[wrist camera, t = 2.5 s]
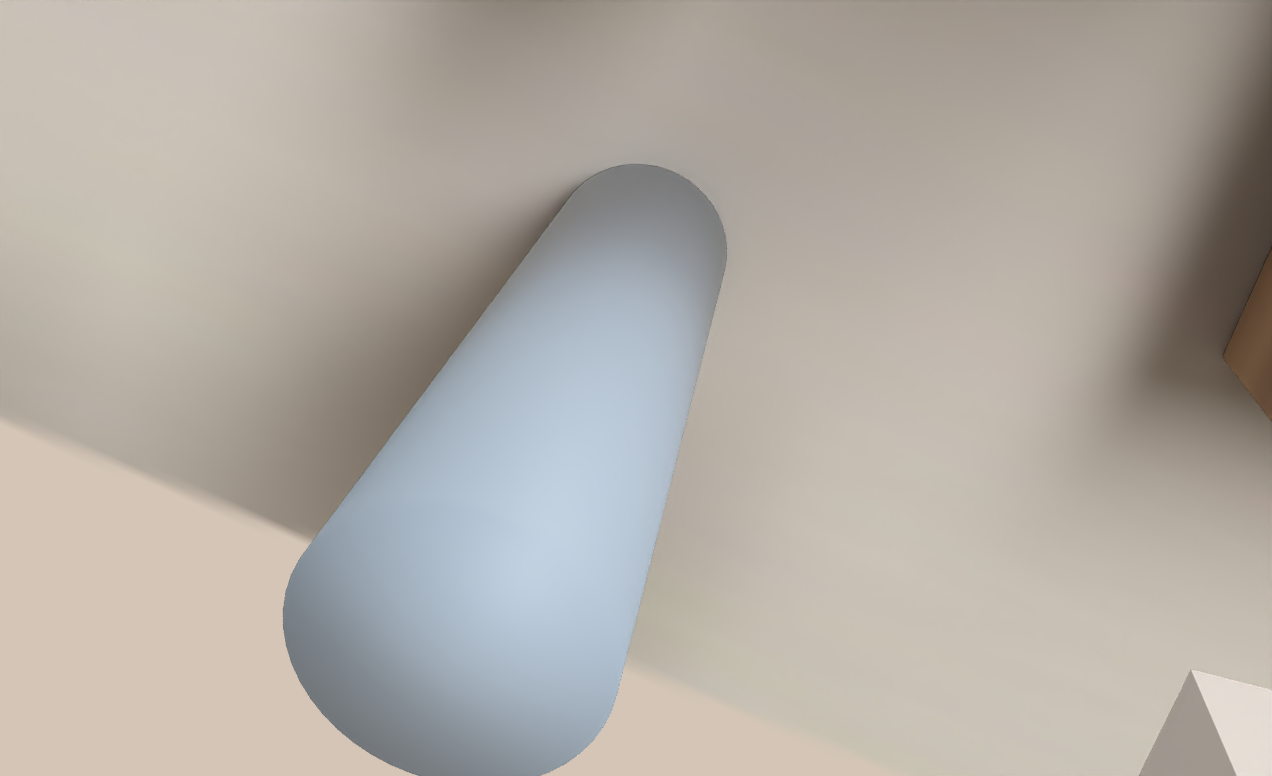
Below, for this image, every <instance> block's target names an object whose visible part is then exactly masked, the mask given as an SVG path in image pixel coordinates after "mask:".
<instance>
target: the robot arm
mask: <svg viewBox="0 0 1272 776" xmlns="http://www.w3.org/2000/svg"><path fill="white" fill-rule="evenodd" d="M1139 776H1272V690H1271V689H1267V688H1263V687H1259V686H1255V685H1251V684H1247V683H1243V682H1239V681H1235V680H1231V679H1227V678H1223V677H1219V676H1215V675H1211V674H1207V673H1203V672H1199V671H1195V670H1190V672H1189V674H1188V676H1187V679H1186V681H1185V683H1184V685H1183V687H1182V689H1181V691H1180V693H1179V695H1178V697H1177V699H1176V701H1175V703H1174V705H1173V707H1172V709H1171V711H1170V713H1169V715H1168V717H1167V719H1166V721H1165V723H1164V725H1163V727H1162V729H1161V731H1160V733H1159V736H1158V738H1157V740H1156V742H1155V744H1154V746H1153V748H1152V750H1151V752H1150V754H1149V756H1148V758H1147V760H1146V762H1145V764H1144V766H1143V768H1142V770H1141V772H1140V774H1139Z"/></svg>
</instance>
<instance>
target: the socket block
mask: <svg viewBox="0 0 1272 776" xmlns="http://www.w3.org/2000/svg"><path fill="white" fill-rule="evenodd" d="M1223 358H1224V360H1225V361H1226V362H1227V364H1228V365H1229V366H1230V368H1231V369H1232V370H1233V371H1234V373H1235V374H1236V375H1237V377H1238V378H1239V379H1240V381H1241V382H1242V383H1243V385H1244V386H1245V387H1246V389H1247V390H1248V391H1249V392H1250V394H1251V395H1252V396H1253V398H1254V399H1255V400H1256V402H1257V403H1258V404H1259V406H1260V407H1261V408H1262V410H1263V411H1264V412H1265V413H1266V415H1267V416H1268V417H1269V419H1270V420H1271V421H1272V248H1271V250H1270V252H1269V255H1268V257H1267V259H1266V261H1265V264H1264V266H1263V268H1262V270H1261V272H1260V275H1259V277H1258V279H1257V281H1256V284H1255V286H1254V288H1253V290H1252V293H1251V295H1250V297H1249V299H1248V301H1247V304H1246V306H1245V308H1244V310H1243V313H1242V315H1241V317H1240V319H1239V321H1238V324H1237V326H1236V328H1235V330H1234V333H1233V335H1232V337H1231V339H1230V342H1229V344H1228V346H1227V348H1226V350H1225V353H1224V355H1223Z"/></svg>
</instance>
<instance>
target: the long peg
mask: <svg viewBox="0 0 1272 776" xmlns="http://www.w3.org/2000/svg"><path fill="white" fill-rule="evenodd" d="M726 260H727V245H726V237H725V233H724V229H723V225H722V223H721V220H720V218H719V215H718V214H717V212H716V210H715V208H714V206H713V205H712V204H711V202H710V201H709V200H708V198H707V197H706V196H705V195H704V194H703V193H702V192H701V191H700V190H699V188H697V187H696V186H695V185H694V184H692V183H691V182H690V181H689V180H687V179H685V178H684V177H682V176H680V175H679V174H676V173H674V172H672V171H670V170H667V169H664V168H660V167H657V166H651V165H645V164H630V165H621V166H617V167H613V168H610V169H607V170H604V171H602V172H600V173H598V174H596V175H594V176H592V177H591V178H589V179H588V180H587V181H585V182H584V183H583V184H581V185H580V186H579V187H578V188H577V189H576V190H575V191H574V192H573V194H572V195H571V196H570V198H569V199H568V200H567V202H566V203H565V204H564V206H563V207H562V208H561V210H560V211H559V212H558V214H557V215H556V216H555V218H554V219H553V220H552V222H551V223H550V224H549V226H548V227H547V228H546V230H545V231H544V232H543V234H542V235H541V236H540V238H539V239H538V240H537V242H536V243H535V244H534V246H533V247H532V248H531V250H530V251H529V252H528V254H527V255H526V256H525V258H524V259H523V260H522V262H521V263H520V264H519V266H518V267H517V268H516V270H515V271H514V272H513V274H512V275H511V276H510V278H509V279H508V280H507V282H506V283H505V285H504V286H503V287H502V289H501V290H500V291H499V293H498V294H497V295H496V297H495V298H494V299H493V301H492V302H491V303H490V305H489V306H488V307H487V309H486V310H485V311H484V313H483V314H482V315H481V317H480V318H479V319H478V321H477V322H476V323H475V325H474V326H473V327H472V329H471V330H470V331H469V333H468V334H467V335H466V337H465V338H464V339H463V341H462V342H461V343H460V345H459V346H458V347H457V349H456V350H455V351H454V353H453V354H452V355H451V357H450V358H449V359H448V361H447V362H446V363H445V365H444V366H443V367H442V369H441V370H440V371H439V373H438V374H437V375H436V377H435V378H434V379H433V381H432V382H431V383H430V385H429V386H428V387H427V389H426V390H425V392H424V393H423V394H422V396H421V397H420V398H419V400H418V401H417V402H416V404H415V405H414V406H413V408H412V409H411V410H410V412H409V413H408V414H407V416H406V417H405V418H404V420H403V421H402V422H401V424H400V425H399V426H398V428H397V429H396V430H395V432H394V433H393V434H392V436H391V437H390V438H389V440H388V441H387V442H386V444H385V445H384V446H383V448H382V449H381V450H380V452H379V453H378V454H377V456H376V457H375V458H374V460H373V461H372V462H371V464H370V465H369V466H368V468H367V469H366V470H365V472H364V473H363V474H362V476H361V477H360V478H359V480H358V481H357V482H356V484H355V485H354V486H353V488H352V489H351V490H350V492H349V493H348V494H347V496H346V497H345V499H344V500H343V501H342V503H341V504H340V505H339V507H338V508H337V509H336V511H335V512H334V513H333V515H332V516H331V517H330V519H329V520H328V521H327V523H326V524H325V525H324V527H323V528H322V529H321V531H320V532H319V533H318V535H317V536H316V537H315V539H314V540H313V541H312V543H311V544H310V545H309V547H308V548H307V549H306V551H305V552H304V553H303V555H302V556H301V557H300V559H299V561H298V563H297V565H296V566H295V568H294V570H293V572H292V574H291V577H290V580H289V583H288V586H287V589H286V593H285V600H284V607H283V629H284V635H285V641H286V647H287V650H288V653H289V656H290V660H291V663H292V665H293V668H294V670H295V672H296V674H297V676H298V678H299V681H300V683H301V684H302V686H303V687H304V689H305V690H306V692H307V694H308V695H309V697H310V699H311V700H312V701H313V702H314V704H315V705H316V706H317V708H318V709H319V710H320V711H321V713H322V714H323V715H324V716H325V717H326V718H327V719H328V720H329V721H330V722H331V723H332V724H333V725H334V726H335V727H336V728H337V729H338V730H339V731H340V732H342V733H343V734H344V735H345V736H346V737H348V738H349V739H350V740H351V741H352V742H354V743H355V744H357V745H358V746H360V747H361V748H362V749H364V750H365V751H367V752H369V753H370V754H372V755H373V756H375V757H377V758H379V759H381V760H383V761H384V762H386V763H388V764H390V765H392V766H395V767H397V768H399V769H402V770H404V771H407V772H409V773H412V774H415V775H418V776H540V775H543V774H546V773H549V772H551V771H553V770H555V769H556V768H558V767H560V766H562V765H564V764H566V763H567V762H569V761H570V760H571V759H573V758H574V757H576V756H577V755H578V754H580V753H581V752H582V751H583V750H584V749H585V748H586V747H587V746H588V745H589V744H590V743H591V742H592V741H593V740H594V739H595V737H596V736H597V735H598V733H599V732H600V731H601V729H602V728H603V726H604V725H605V723H606V721H607V719H608V717H609V715H610V713H611V711H612V708H613V705H614V702H615V699H616V696H617V693H618V688H619V685H620V681H621V677H622V673H623V669H624V665H625V661H626V657H627V653H628V649H629V645H630V641H631V637H632V633H633V630H634V626H635V622H636V618H637V614H638V610H639V606H640V602H641V598H642V594H643V590H644V586H645V582H646V578H647V574H648V570H649V567H650V563H651V559H652V555H653V551H654V547H655V543H656V539H657V535H658V531H659V527H660V523H661V519H662V515H663V511H664V507H665V504H666V500H667V496H668V492H669V488H670V484H671V480H672V476H673V472H674V468H675V464H676V460H677V456H678V452H679V448H680V444H681V440H682V437H683V433H684V429H685V425H686V421H687V417H688V413H689V409H690V405H691V401H692V397H693V393H694V389H695V385H696V381H697V377H698V374H699V370H700V366H701V362H702V358H703V354H704V350H705V346H706V342H707V338H708V334H709V330H710V326H711V322H712V318H713V314H714V311H715V307H716V303H717V299H718V295H719V291H720V287H721V283H722V279H723V275H724V271H725V266H726Z"/></svg>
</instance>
